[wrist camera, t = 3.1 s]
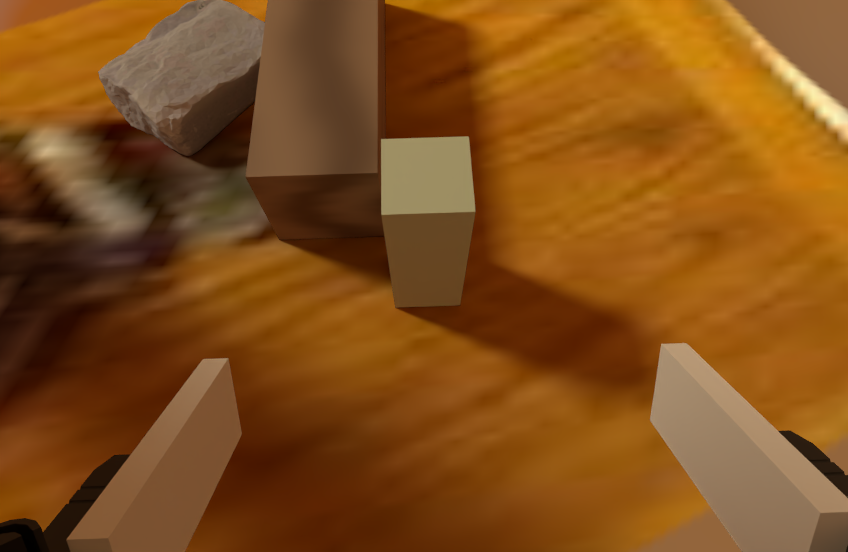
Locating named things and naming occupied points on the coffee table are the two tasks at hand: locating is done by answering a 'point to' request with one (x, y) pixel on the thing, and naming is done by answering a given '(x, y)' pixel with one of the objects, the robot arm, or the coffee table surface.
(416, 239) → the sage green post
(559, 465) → the coffee table surface
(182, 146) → the stone block
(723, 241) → the coffee table surface
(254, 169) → the walnut beam
